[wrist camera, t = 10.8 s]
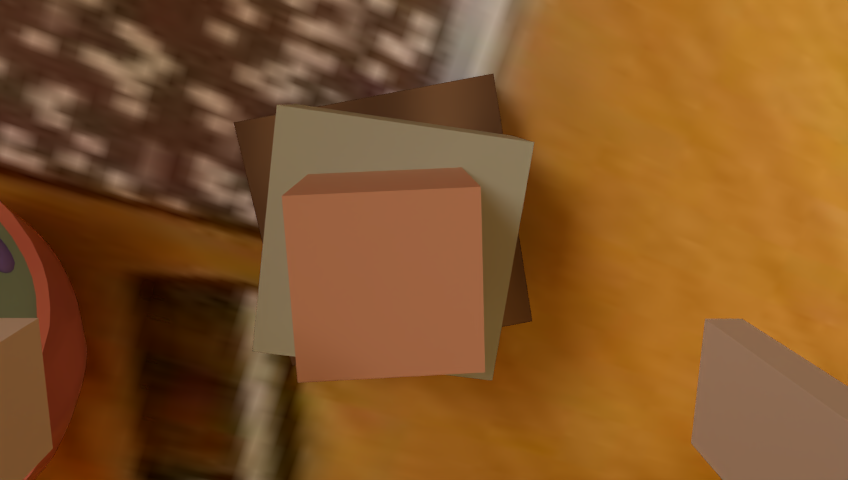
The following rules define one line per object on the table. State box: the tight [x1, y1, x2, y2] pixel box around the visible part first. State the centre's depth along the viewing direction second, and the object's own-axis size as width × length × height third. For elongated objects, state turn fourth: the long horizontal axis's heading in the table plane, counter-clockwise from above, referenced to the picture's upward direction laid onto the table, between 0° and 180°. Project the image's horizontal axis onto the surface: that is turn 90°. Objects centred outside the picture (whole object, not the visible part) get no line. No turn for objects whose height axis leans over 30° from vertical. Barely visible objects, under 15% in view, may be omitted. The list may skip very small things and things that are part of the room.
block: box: [282, 167, 485, 383], centre depth 24 cm, size 6×6×6 cm
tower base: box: [234, 74, 532, 366], centre depth 34 cm, size 12×12×5 cm
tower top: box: [252, 104, 534, 380], centre depth 29 cm, size 10×10×5 cm
